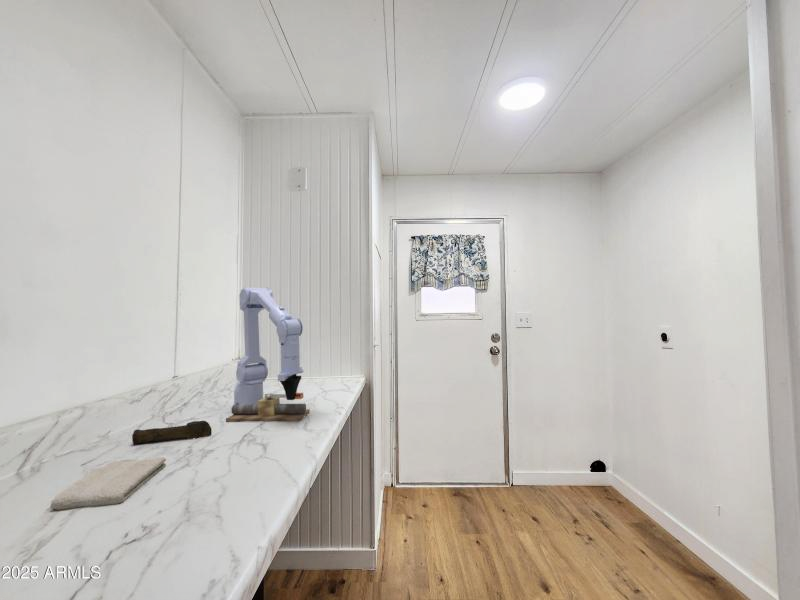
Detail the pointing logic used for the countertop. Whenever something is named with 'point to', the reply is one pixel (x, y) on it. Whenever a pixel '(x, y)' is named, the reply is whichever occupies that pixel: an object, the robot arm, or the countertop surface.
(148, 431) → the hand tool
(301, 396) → the valve lever
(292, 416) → the valve board
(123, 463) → the washcloth
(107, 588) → the countertop surface
